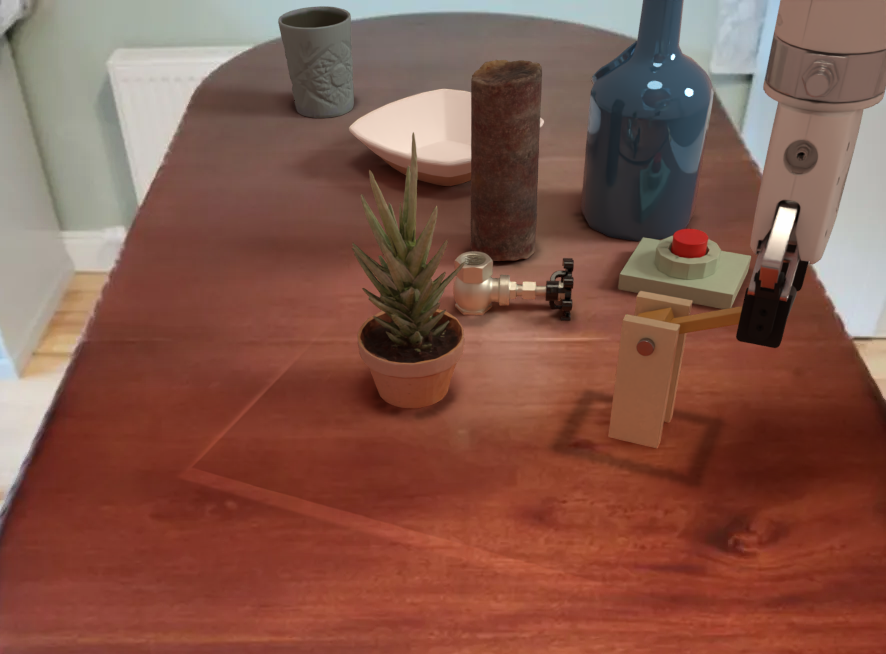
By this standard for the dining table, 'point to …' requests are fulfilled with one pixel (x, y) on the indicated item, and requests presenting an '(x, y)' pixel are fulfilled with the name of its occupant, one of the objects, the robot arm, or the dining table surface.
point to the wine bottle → (646, 133)
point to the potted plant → (407, 306)
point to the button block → (685, 273)
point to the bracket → (647, 371)
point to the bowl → (423, 135)
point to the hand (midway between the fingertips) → (769, 313)
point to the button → (689, 243)
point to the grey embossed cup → (319, 60)
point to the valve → (506, 286)
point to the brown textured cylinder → (505, 158)
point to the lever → (703, 317)
